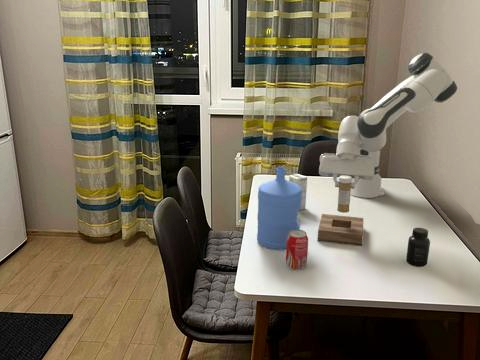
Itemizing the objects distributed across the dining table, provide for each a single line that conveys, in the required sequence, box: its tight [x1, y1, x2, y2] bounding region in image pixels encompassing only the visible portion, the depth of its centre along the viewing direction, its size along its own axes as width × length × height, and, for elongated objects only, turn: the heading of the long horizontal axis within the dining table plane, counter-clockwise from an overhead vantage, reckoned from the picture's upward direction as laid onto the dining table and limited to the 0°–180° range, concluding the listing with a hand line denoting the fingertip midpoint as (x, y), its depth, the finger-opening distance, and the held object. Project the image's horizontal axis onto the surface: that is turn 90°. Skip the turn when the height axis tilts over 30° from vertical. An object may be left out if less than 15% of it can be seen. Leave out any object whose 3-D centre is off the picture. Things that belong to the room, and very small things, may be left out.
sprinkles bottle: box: [336, 175, 352, 214], centre depth 179 cm, size 5×5×14 cm
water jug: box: [256, 167, 302, 251], centre depth 174 cm, size 16×16×28 cm
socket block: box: [316, 213, 364, 247], centre depth 183 cm, size 16×16×4 cm
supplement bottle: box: [405, 227, 431, 268], centre depth 161 cm, size 7×7×12 cm
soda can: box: [285, 229, 309, 271], centre depth 158 cm, size 7×7×12 cm
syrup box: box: [288, 173, 308, 211], centre depth 207 cm, size 6×6×14 cm
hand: (344, 187), depth 178 cm, fingers closed on sprinkles bottle, 4 cm apart
